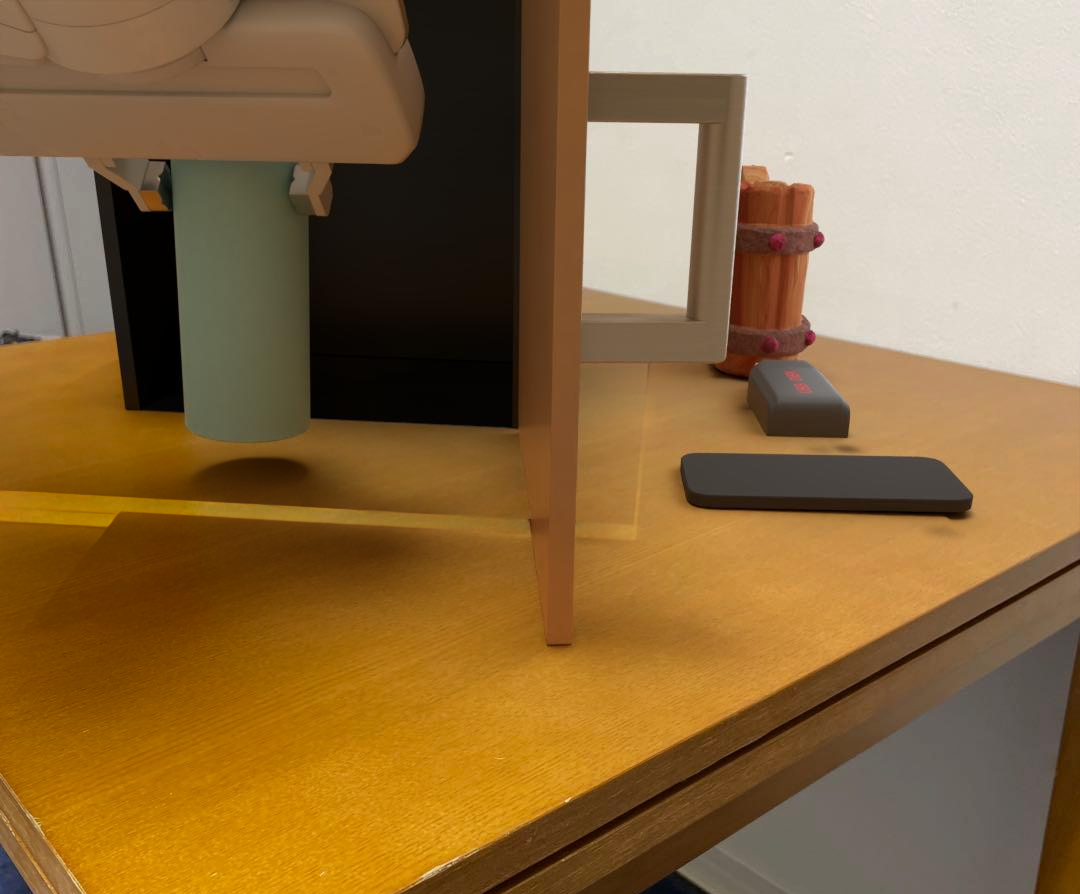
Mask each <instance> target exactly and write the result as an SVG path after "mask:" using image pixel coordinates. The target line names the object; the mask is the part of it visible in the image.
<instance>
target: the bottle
mask: <svg viewBox="0 0 1080 894" xmlns="http://www.w3.org/2000/svg"><path fill="white" fill-rule="evenodd" d="M295 165H299V163H298V162H265V161H219V160H173V159H171V176H172V194H173V212H174V230H175V249H176V267H177V285H178V303H179V321H180V339H181V357H182V375H183V393H184V411H185V413H184V425H185V428H186V429H187V430H188V431H189V432H190V433H192V434H193V435H195V436H198V437H201V438H204V439H208V440H213V441H217V442H225V443H237V444H259V443H272V442H278V441H283V440H288V439H292V438H294V437H298V436H300V435H302V434H304V433H306V432H307V431H308V430H309V429H310V428H311V419H310V328H309V221H308V215H297V214H296V212H295V207H296V206H295V205H293V204H292V202H291V199H290V197H289V189H290V185H291V183H292V182H293V181H294V178H293V176H292V175H293V171H294V167H295Z"/></svg>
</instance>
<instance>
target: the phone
mask: <svg viewBox="0 0 1080 894" xmlns="http://www.w3.org/2000/svg"><path fill="white" fill-rule="evenodd" d="M679 470H680V475H681V479H682V484H683V489H684V493H685V497H686V499H687V501H688V502H689V503H690V504H691V505H694V506H698V507H702V508H716V509H717V508H719V509H760V510H761V509H765V510H769V509H771V510H773V509H774V510H810V511H811V510H815V511H817V510H818V511H819V510H820V511H827V510H828V511H866V512H867V511H868V512H877V511H878V512H912V513H913V512H914V513H915V512H920V513H921V512H923V513H963V512H967V511H970V510H971V509H972V506H973V500H974V494H973V493H972V492H971V490H970V489H969V488H968V487H967V486H966V485H965V484H964V483H963V482H962V480H960V478H959V477H958V476H957V475H956V474H955V473H954V472H953V471H952V470H951V468H949V466H948V465H947V464H945V463H944V462H943V461H942V460H939V459H937V458H934V457H928V456H927V457H926V456H910V455H909V456H907V455H906V456H903V455H858V454H857V455H855V454H854V455H851V454H848V455H847V454H798V453H797V454H796V453H794V454H793V453H792V454H791V453H746V452H745V453H744V452H742V453H738V452H690V453H686V454H684V455H682V456H681V458H680V466H679Z"/></svg>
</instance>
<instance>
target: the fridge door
mask: <svg viewBox="0 0 1080 894" xmlns="http://www.w3.org/2000/svg"><path fill="white" fill-rule="evenodd" d="M591 16H592V0H522V41H521V167H520V292H519V417H518V429H517V430H518V431H517V432H518V440H519V446H520V453H521V460H522V468H523V473H524V480H525V488H526V494H527V501H528V506H529V508H528V509H529V513H530V518H528V522H529V523H528V524H529V529H530V536H531V544H532V550H533V557H534V563H535V571H536V577H537V578H536V579H537V585H538V590H539V591H538V592H539V600H540V606H541V613H542V619H543V627H544V634H545V640H546V645H572V643H573V626H574V625H573V622H574V591H575V590H574V589H575V587H574V586H575V584H574V583H575V582H574V581H575V558H576V557H575V552H576V525H577V524H576V523H577V522H576V521H577V520H576V519H577V491H578V489H577V487H578V456H579V455H578V453H579V451H578V450H579V422H580V421H579V420H580V391H581V390H580V388H581V384H580V383H581V364H589V365H591V364H596V365H597V364H598V365H599V364H607V365H609V364H614V365H615V364H618V365H619V364H620V365H621V364H623V365H627V364H631V365H632V364H638V365H639V364H641V365H642V364H643V365H646V364H648V365H649V364H650V365H651V364H652V365H653V364H656V365H657V364H659V365H660V364H665V365H666V364H667V365H670V364H671V365H672V364H675V365H677V364H678V365H679V364H680V365H682V364H683V365H684V364H685V365H686V364H690V365H691V364H694V365H695V364H698V365H699V364H700V365H701V364H703V365H704V364H705V365H706V364H714V363H720V362H723V361H725V359H726V352H727V340H728V327H729V315H730V303H731V291H732V278H733V266H734V254H735V241H736V229H737V217H738V205H739V192H740V180H741V168H742V166H743V155H744V142H745V132H746V131H745V130H746V116H747V104H748V93H749V80H750V77H749V74H747V73H719V72H717V73H714V72H713V73H711V72H709V73H708V72H663V71H662V72H661V71H660V72H657V71H656V72H655V71H652V72H651V71H606V70H605V71H601V70H599V71H597V70H590V55H591V54H590V51H591V20H592V19H591V18H592V17H591ZM588 123H625V124H626V123H627V124H628V123H629V124H633V123H634V124H692V125H693V124H698V133H697V134H698V135H697V148H696V149H697V150H696V164H695V176H694V177H695V180H694V195H693V206H692V207H693V210H692V225H691V239H690V240H691V241H690V252H689V253H690V254H689V267H688V268H689V269H688V285H687V300H686V313H684V312H683V313H672V312H671V313H667V312H665V313H663V312H662V313H659V312H658V313H656V312H655V313H651V312H649V313H648V312H647V313H646V312H643V313H641V312H640V313H639V312H634V313H633V312H630V313H629V312H623V313H622V312H617V313H616V312H583V286H584V285H583V284H584V256H585V255H584V254H585V253H584V252H585V250H584V249H585V217H586V190H587V189H586V188H587V187H586V184H587V155H588V154H587V152H588V150H587V149H588Z"/></svg>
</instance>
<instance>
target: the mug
mask: <svg viewBox="0 0 1080 894" xmlns="http://www.w3.org/2000/svg"><path fill="white" fill-rule="evenodd" d="M815 193H816V190H815V188H814V187H813V186H812V184H808V183H801V182H793V183H791V184H789V183H787V182H786V181H784V180H783V181H782V180H770V174H769V172H768V169H767V167H766V166H764V165H755V164H751V165H742V168H741V180H740V192H739V205H738V217H737V229H736V241H735V254H734V266H733V278H732V291H731V303H730V315H729V327H728V340H727V352H726V359H725V361H723V362H720V363H713V365H714V366H715V368H716V369H717V370H719V372H721V373H725V374H727V375H729V376H730V375H731V376H735V377H744V378H747V379H749V373H750V371H751V370H752V369H753V368H754V366H755V364H756V363H759V362H760V361H761V360H798V354H800V353H803V352H804V351H805V350H806V349H807V348H808V347H810V346H812V345H813V344H814V342H815V341H816V337H817V336H816V332H815V331H814V330H812V329H811V325H812V324H811V322H810V320H809V319H808V318H807V317H806V316H805V315H804V314H803V307H804V297H805V289H806V281H807V275H808V274H807V273H808V268H809V261H810V260H809V259H810V252H813V251H815V250H816V249H818V248H820V247H822V245H823V244H824V242H825V235H824V234H823V232H822V231H819V230H820V227H819V225H818V223H817V222H815V221H814V220H813V215H814V204H815V203H814V200H815ZM733 374H734V375H733Z"/></svg>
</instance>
